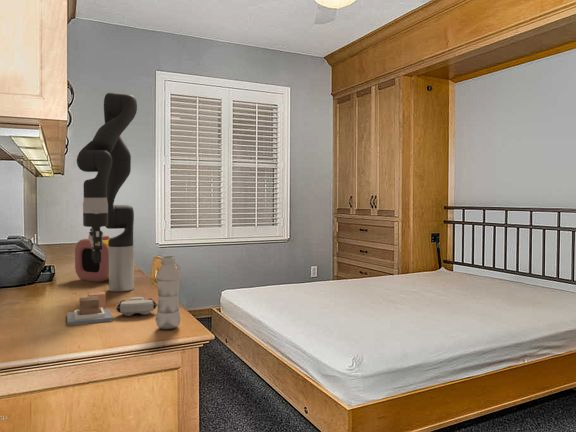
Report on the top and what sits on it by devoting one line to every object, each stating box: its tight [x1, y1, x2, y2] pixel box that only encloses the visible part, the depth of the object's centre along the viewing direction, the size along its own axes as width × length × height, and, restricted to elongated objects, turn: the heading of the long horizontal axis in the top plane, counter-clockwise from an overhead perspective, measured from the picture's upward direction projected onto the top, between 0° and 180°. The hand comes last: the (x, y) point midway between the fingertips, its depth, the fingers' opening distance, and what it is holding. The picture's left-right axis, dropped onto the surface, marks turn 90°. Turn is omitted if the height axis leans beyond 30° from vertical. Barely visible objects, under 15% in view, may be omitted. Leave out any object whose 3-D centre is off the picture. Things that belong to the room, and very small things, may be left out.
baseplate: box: [66, 308, 114, 327], centre depth 139 cm, size 12×12×2 cm
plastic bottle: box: [155, 255, 182, 330], centre depth 129 cm, size 6×7×20 cm
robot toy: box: [115, 296, 158, 317], centre depth 147 cm, size 12×4×15 cm
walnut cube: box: [79, 296, 99, 315], centre depth 139 cm, size 5×5×5 cm
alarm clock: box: [74, 234, 111, 283], centre depth 203 cm, size 18×11×19 cm, turn 67°
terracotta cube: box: [87, 290, 107, 309], centre depth 152 cm, size 5×5×5 cm
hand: (96, 261), depth 152 cm, fingers open, 8 cm apart
